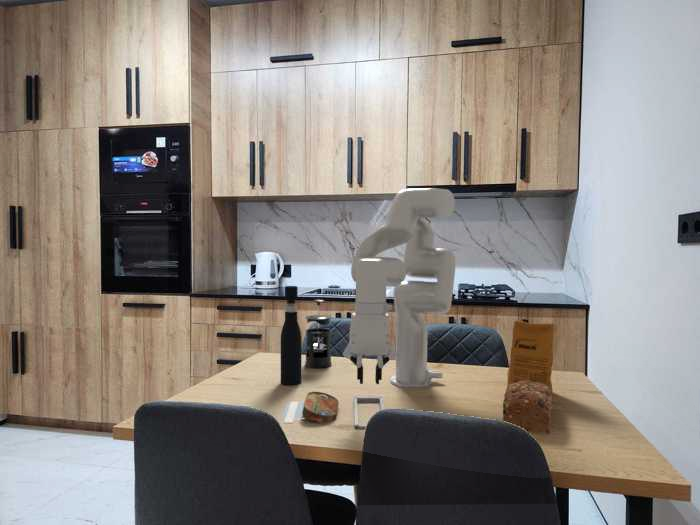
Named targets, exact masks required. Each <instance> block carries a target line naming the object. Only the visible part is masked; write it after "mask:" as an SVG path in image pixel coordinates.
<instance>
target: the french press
mask: <svg viewBox="0 0 700 525" xmlns="http://www.w3.org/2000/svg"><path fill="white" fill-rule="evenodd" d="M312 302H315V303H316V304H317V314H312V315H306V317H305V319H306V323H307V324H308V323H311V322H316V323H317V328H315V327H314V328H308V329H306V330H305V335H306V353H305V362H304V365H305V366H306V367H308V368H314V369H315V368H317V369H318V368H319V369H320V368H321V369H322V368H328V367H331V365H332V354H331V335H332V330H331V328H323V327H321V328H320V325H322V326H326V325H330V323H331V319H332V316H331V315H327V314H326V315H325V314H320V306H321V303H323V302H325V300H324V299H319V298H317V299H313V300H312ZM314 338H317V343H314V342H315V341H314V340H315V339H314ZM320 338H322V343H320Z"/></svg>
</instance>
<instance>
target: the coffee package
mask: <svg viewBox="0 0 700 525" xmlns="http://www.w3.org/2000/svg"><path fill="white" fill-rule="evenodd" d="M513 322H514V323H513V329H512V340H511V341H512V343H511V348H510V359H509V367H508V371H507V379H506V380H507V384H506V386H507V387H508V386H509V385H510V384H514V383H516V382H518V381H520V380H523V381H532V382H538V383H541V384H546V385H547V386H549V387H550V388H551V397H552V398H553V397H554V392H553V385H552V380H551V378H552V373H553V372H552V367H553V361H554V346H553V345H554V332H555V324H554V323H553V322H550V323H549V322H548V323H547V322H546V323H531V322H526V321H521V320H517V319H514V321H513Z"/></svg>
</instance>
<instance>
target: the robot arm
mask: <svg viewBox="0 0 700 525" xmlns="http://www.w3.org/2000/svg"><path fill="white" fill-rule="evenodd" d="M455 202H456V201H455V197H454V194H453V193H452V191H451V190H449V189H445V188H435V187H428V188H427V187H425V188H406V189H401V190H400V191H398V192H397V193H396V194H395V196H394V198H393V200H392V202H391V205H390V208H389V211H388V213H387V216H386V218H385V221H384V224H383V225H382V226H380V227H379V228H378V229H376V230H374V231H373V232H372V233H371V234H369V235H368V236H367V237H365V238H364V240H363V241H362V242H360V243H359V246H358V248H357V250H356V252H355V255H354V258H353V260H352V262H351V267H350V275H351V278H352V280H353V282H355V303H354V305H355V307H354V308H355V311H354V312H353V313H352V314H351V318H350V326H349V342H348V343H347V344H346V347H345V349H344V350H343V352H342V356H343V357H344V358H346V359H348V360H349V361H351V363H353V364H354V365H355V367H357V369H356V380H357V381H358V380H359V384H360V385H363V384H364V366H363V356H365V357H366V356H368V357H370V356H372V357H373V356H376V359H377V360H376V361H377V363H376V365H375V378H374V380H375V384H376V385H379V384H380V381H382V377H383V376H382V375H383V368H384V366H386V364H388V362H389V361H391V360H393V359H395V374H394V375H392V376H391V377H390V383H391V384H392V385H393V386H396V387H398V388H405V389H421V388H426V387H429V386H431V385H432V383H433V382H432V379H443V372H442V371H437V370H429V369H428V324H427V322H426V320H425V319H424V317H423V315H422V314H429V315H430V314H432V315H433V314H434V315H445V314H447V313H448V312H449V311H450V310H451V308H452V307H451V306H452V303H453V302H452V301H453V293H454V292H453V291H454V285H455V284H454V283H455V275H456V257H455V256H456V255H455V254H454V252H453V251H452V250H451V249H449V248H446V247H444V248H443V247H434V244H435V231H433V229H432V227H431V225H430V224H429V223H428V222H427V221H426V220H425V219H443V218H449V217H451V215H452V214H453V212H454V210H455V206H456V204H455ZM403 244H406V245H405V249H404V250H405V251H404V256H403V260H401V259H400V258H397V257H390V256H389V257H387V256H386V257H384V256H377V255H379V254H380V253H383V252H385V251H388V250H391V249H393V248H396V247H399V246H402V245H403ZM407 276H408V277H411V278H415V279H416V278H417V279H429V280H430V279H432V280H436V281H425V280H424V281H423V280H405V279H406V278H407ZM387 287H389V288H390V287H391V288H392V287H393V288H394V289H393V302H394V303H393V304H394V309H395V319H396V320H395V321H396V323H395V324H396V326H395V327H396V328H395V331H396V332H395V333H396V335H395V336H396V337H395V342H396V343H395V348H394V347H393V345H392V343H391V342H392V339H391V325H390V323H391V322H390V316H389V313H387V312H388V311H392V309H393V305H392V304H389V303H387Z"/></svg>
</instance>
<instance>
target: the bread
mask: <svg viewBox="0 0 700 525" xmlns="http://www.w3.org/2000/svg"><path fill="white" fill-rule="evenodd" d="M552 398H553V397H551V388H550V387H549V386H547V385H546V384H541V383H538V382H532V381H523V380H520V381H518V382H516V383H514V384H510V385H509V386H508V387H507V388H506V390H505V394H504V400H503V402H502V403H503V404H502V414H503V415H502V422H503V421H506V422H509V423H512V424H515V425H517V426H520V427H521V428H524V429H525V430H527V431H526V432H531V433H532V432H533V433H541V434H547V435H549V434H550V430H551V420H552V415H551V414H552V413H551V412H552V403H553V399H552ZM525 430H524V431H525Z"/></svg>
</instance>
